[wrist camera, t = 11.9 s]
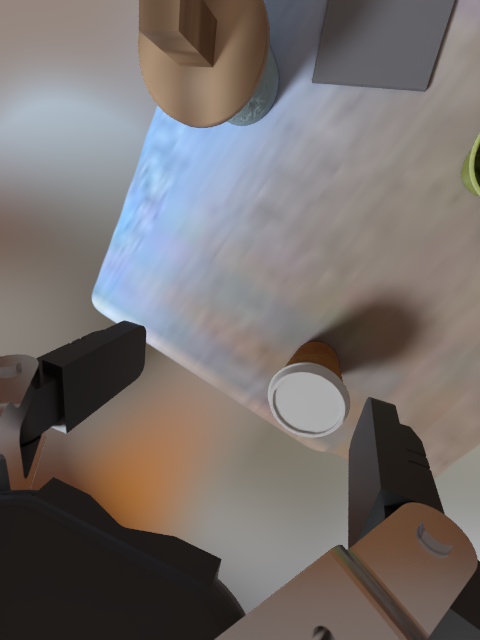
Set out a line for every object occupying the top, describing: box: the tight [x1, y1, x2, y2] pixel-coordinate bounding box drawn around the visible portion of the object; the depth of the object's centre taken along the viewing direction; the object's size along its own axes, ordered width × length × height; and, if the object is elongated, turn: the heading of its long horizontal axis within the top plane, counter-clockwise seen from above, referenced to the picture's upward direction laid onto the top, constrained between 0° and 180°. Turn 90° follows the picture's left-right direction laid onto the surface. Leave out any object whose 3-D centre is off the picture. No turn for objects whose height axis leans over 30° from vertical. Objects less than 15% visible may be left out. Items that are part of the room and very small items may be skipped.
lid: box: [138, 0, 269, 128], centre depth 24 cm, size 12×12×7 cm
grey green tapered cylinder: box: [227, 46, 279, 126], centre depth 33 cm, size 10×10×12 cm
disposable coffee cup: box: [268, 342, 350, 437], centre depth 41 cm, size 10×10×12 cm
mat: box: [312, 0, 455, 91], centre depth 32 cm, size 12×12×1 cm
